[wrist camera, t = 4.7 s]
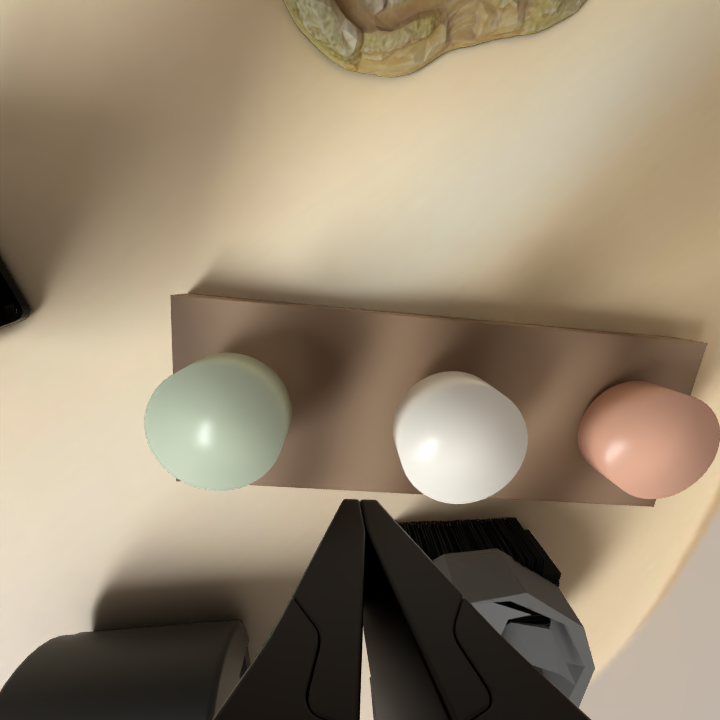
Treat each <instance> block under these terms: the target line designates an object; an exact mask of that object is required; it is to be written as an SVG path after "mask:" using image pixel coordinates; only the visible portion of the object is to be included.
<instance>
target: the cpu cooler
mask: <svg viewBox="0 0 720 720" xmlns="http://www.w3.org/2000/svg"><path fill="white" fill-rule="evenodd" d="M399 525H400V523H399ZM401 528H402V529H403V530H404V531H405V532H406V533H407V534H408V535H409V536H410V537H411V539H412V540H413V541H414V542H415V543H416V544H417V545H418V546H419V547H420V548H421V550H422V551H423V552H424V553H425V554H426V555H427V556H428V557H429V558H430V559H431V561H432V562H433V563H434V564H435V565H436V566H437V567H438V568H439V569H440V570H441V572H442V573H443V574H444V575H445V576H446V577H447V578H448V579H449V580H450V581H451V582H452V584H453V585H454V586H455V587H456V588H457V589H458V590H459V591H460V592H461V593H462V595H463V598H466V599H467V600H468V601H469V602H470V603H471V604H472V605H473V606H474V608H475V609H476V610H477V611H478V612H479V613H480V614H481V615H482V616H483V617H484V618H485V619H486V620H487V621H488V622H489V623H490V624H491V626H492V627H493V628H494V629H495V630H496V631H497V632H498V633H499V634H500V635H501V636H502V637H503V638H504V639H505V640H506V641H507V642H508V643H510V644H511V645H512V646H513V647H514V648H515V649H516V650H517V651H518V652H519V653H520V654H521V655H522V656H523V657H524V658H525V659H526V660H527V661H528V662H529V663H530V664H532V665H533V666H534V667H535V668H536V669H537V670H538V671H539V672H540V673H541V674H542V675H543V676H545V677H546V678H547V679H548V680H549V681H550V682H551V683H552V684H553V685H554V686H555V687H556V688H557V689H559V690H560V691H561V692H562V693H563V694H564V695H565V696H566V697H567V698H568V699H569V700H570V701H571V702H573V703H574V704H575V705H576V706H577V707H578V708H579V705H580V703H581V701H582V698H583V696H584V693H585V691H586V689H587V686H588V684H589V681H590V679H591V677H592V674H593V672H594V669H595V667H594V663H593V659H592V656H591V652H590V648H589V645H588V641H587V637H586V633H585V630H584V627H583V625H582V624H581V622H580V621H579V619H578V618H577V616H576V614H575V613H574V611H573V610H572V608H571V607H570V605H569V604H568V602H567V600H566V599H565V597H564V596H563V594H562V593H561V591H560V590H559V588H558V587H559V582H560V581H559V580H558V579H560V577H561V573H560V571H559V570H558V569H557V567H556V566H555V564H554V563H553V562H552V560H551V559H550V558H549V556H548V555H547V554H546V552H545V551H544V550H543V548H542V547H541V546H540V544H539V543H538V542H537V540H536V539H535V537H534V536H533V535H532V533H531V532H530V531H529V530H524V529H523V527H522V526H521V525H520V523H519V522H518V520H517V519H516V518H514V519H513V518H512V519H511V518H509V519H508V518H507V519H506V518H505V521H504V520H503V519H502V520H501V519H500V518H499V520H498V518H497V519H494V521H493V519H492V521H491V519H489V522H488V521H487V519H486V521H485V520H484V521H483V520H482V523H481V521H480V519H479V521H478V519H476V521H475V519H473V522H472V520H471V521H470V520H468V521H467V520H466V522H464V520H463V522H462V520H461V522H460V520H458V522H457V520H455V523H454V521H453V523H452V521H451V526H450V524H449V522H448V526H447V523H446V521H445V523H443V524H442V521H440V523H439V526H438V525H437V522H436V521H435V524H434V521H432V524H430V525H429V522H428V521H427V525H426V522H425V521H424V523H423V522H422V525H421V522H419V528H418V525H417V524H416V523H415V522H414V525H413V522H411V526H410V523H409V526H408V522H406V526H405V522H403V527H402V524H401ZM370 684H371V695H372V706H373V717H374V720H377V714H376V707H375V701H374V694H373V688H372V681H371V677H370Z"/></svg>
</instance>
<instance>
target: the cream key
mask: <svg viewBox="0 0 720 720" xmlns="http://www.w3.org/2000/svg"><path fill="white" fill-rule="evenodd" d="M393 437H394V441H395V445H396V448H397V451H398V454H399V457H400V461H401V464H402V467H403V469H404V472H405V474H406V476H407V477H408V479H409V481H410V482H411V483H412V484H413V486H414V487H416V488H417V489H418V490H419V491H420V492H421V493H423V494H424V495H426V496H428V497H430V498H431V499H434V500H437V501H440V502H444V503H450V504H465V503H472V502H476V501H479V500H482V499H485V498H487V497H489V496H491V495H493V494H495V493H496V492H498V491H499V490H501V489H502V488H503V487H505V486H506V485H507V484H508V483H509V482H510V481H511V480H512V479H513V477H514V476H515V475H516V473H517V472H518V470H519V469H520V467H521V465H522V463H523V460H524V458H525V454H526V451H527V444H528V434H527V428H526V424H525V421H524V418H523V416H522V414H521V412H520V411H519V409H518V408H517V407H516V405H515V404H514V403H513V402H512V401H511V400H510V399H508V398H507V397H506V396H505V395H503V394H502V393H500V392H499V391H498V390H496V389H495V388H493V387H492V386H491V385H489V384H488V383H487V382H485V381H484V380H482V379H480V378H479V377H477V376H474V375H472V374H469V373H465V372H458V371H448V372H441V373H437V374H433V375H431V376H428V377H426V378H424V379H422V380H421V381H419V382H418V383H416V384H415V385H414V386H412V387H411V388H410V389H409V390H408V391H407V392H406V394H405V395H404V396H403V398H402V399H401V401H400V402H399V404H398V406H397V408H396V411H395V414H394V419H393Z"/></svg>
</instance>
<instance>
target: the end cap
mask: <svg viewBox="0 0 720 720" xmlns="http://www.w3.org/2000/svg"><path fill="white" fill-rule="evenodd" d="M248 641H249V637H248V633H247V630H246V627H245V625H244V624H243V622H242V621H240V620H227V621H215V622H203V623H190V624H178V625H166V626H154V627H142V628H130V629H118V630H105V631H93V632H81V633H78V634H75V635H63V636H59V637H56V638H53V639H51V640H49V641H48V642H46V643H44V644H43V645H41V646H40V647H38V648H37V649H36V650H35V651H34V652H32V653H31V654H30V655H29V656H28V657H27V658H26V659H25V660H24V661H23V662H22V663H21V664H20V666H19V667H18V668H17V669H16V670H15V671H14V673H13V674H12V675H11V677H10V678H9V679H8V681H7V682H6V683H5V685H4V686H3V688H2V689H1V691H0V720H212V719H213V718H214V716H215V715H216V714H217V712H218V711H219V709H220V708H221V706H222V705H223V704H224V702H225V701H226V699H227V698H228V696H229V695H230V694H231V692H232V691H233V689H234V688H235V686H236V685H237V684H238V682H239V681H240V679H241V678H242V677H243V675H244V674H245V672H246V671H247V669H248V668H249V667H250V659H249V653H248V647H247V645H248Z"/></svg>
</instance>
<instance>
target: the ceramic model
mask: <svg viewBox="0 0 720 720" xmlns="http://www.w3.org/2000/svg"><path fill="white" fill-rule="evenodd" d="M283 1H284V3H285V6H286V7H287V9H288V10H289V12H290V14H291V16H292V18H293V20H294V22H295V23H296V25H297V26H298V27H299V29H300V30H301V31H302V32H303V33H304V35H305V36H306V37H307V38H308V39H309V40H311V42H312V43H313V44H314V45H315V46H316V47H317V48H318V49H319V50H320V51H321V52H322V53H323V54H324V55H326V56H327V57H328V58H329V59H330V60H332V61H333V62H335V63H337V64H338V65H339V66H341V67H344V68H346V69H347V70H351V71H357V72H360V73H367V74H376V75H377V76H382V77H396V76H401V75H405V74H410V73H412V72H414V71H416V70H418V69H420V68H422V67H424V66H425V65H427V64H428V63H430V62H431V61H433V60H434V59H435V58H437V57H438V56H440V55H441V54H443V53H445V52H447V51H449V50H452V49H456V48H460V47H468V46H473V45H476V44H478V43H481V42H482V43H484V42H487V41H490V40H492V39H494V40H496V39H499V38H502V37H503V38H507V37H511V36H515V35H519V34H520V35H526V34H531V33H536V32H539V31H541V30H544V29H546V28H548V27H550V26H551V25H553V24H555V23H556V22H559V21H561V20H563V19H565V18H566V17H568V16H570V15H572V14H573V13H575V12H577V11H578V9H579V8H580V6H581V5H582V4H583V3H584V2H585V1H586V0H283Z"/></svg>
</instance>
